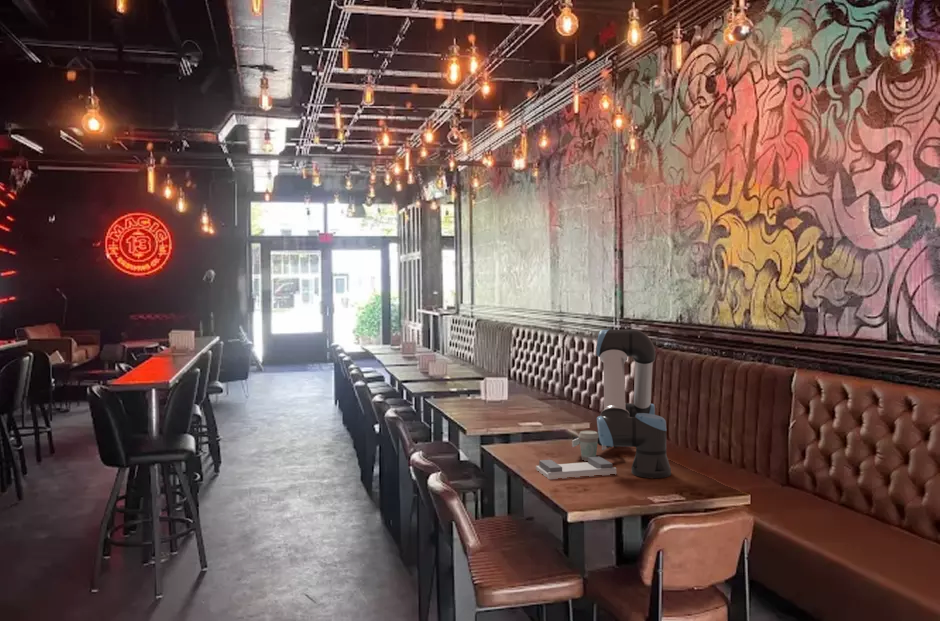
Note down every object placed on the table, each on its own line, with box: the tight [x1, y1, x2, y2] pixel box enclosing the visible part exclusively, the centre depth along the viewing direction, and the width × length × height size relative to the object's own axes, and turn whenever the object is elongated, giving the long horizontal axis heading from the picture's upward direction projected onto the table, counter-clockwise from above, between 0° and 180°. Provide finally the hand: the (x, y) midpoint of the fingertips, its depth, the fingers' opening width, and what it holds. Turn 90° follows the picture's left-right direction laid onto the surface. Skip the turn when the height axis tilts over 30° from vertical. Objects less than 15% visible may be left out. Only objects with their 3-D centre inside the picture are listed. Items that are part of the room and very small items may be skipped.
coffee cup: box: [578, 430, 599, 462], centre depth 312 cm, size 8×8×12 cm
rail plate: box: [535, 455, 617, 480], centre depth 293 cm, size 28×16×4 cm, turn 103°
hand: (587, 445), depth 311 cm, fingers open, 13 cm apart
